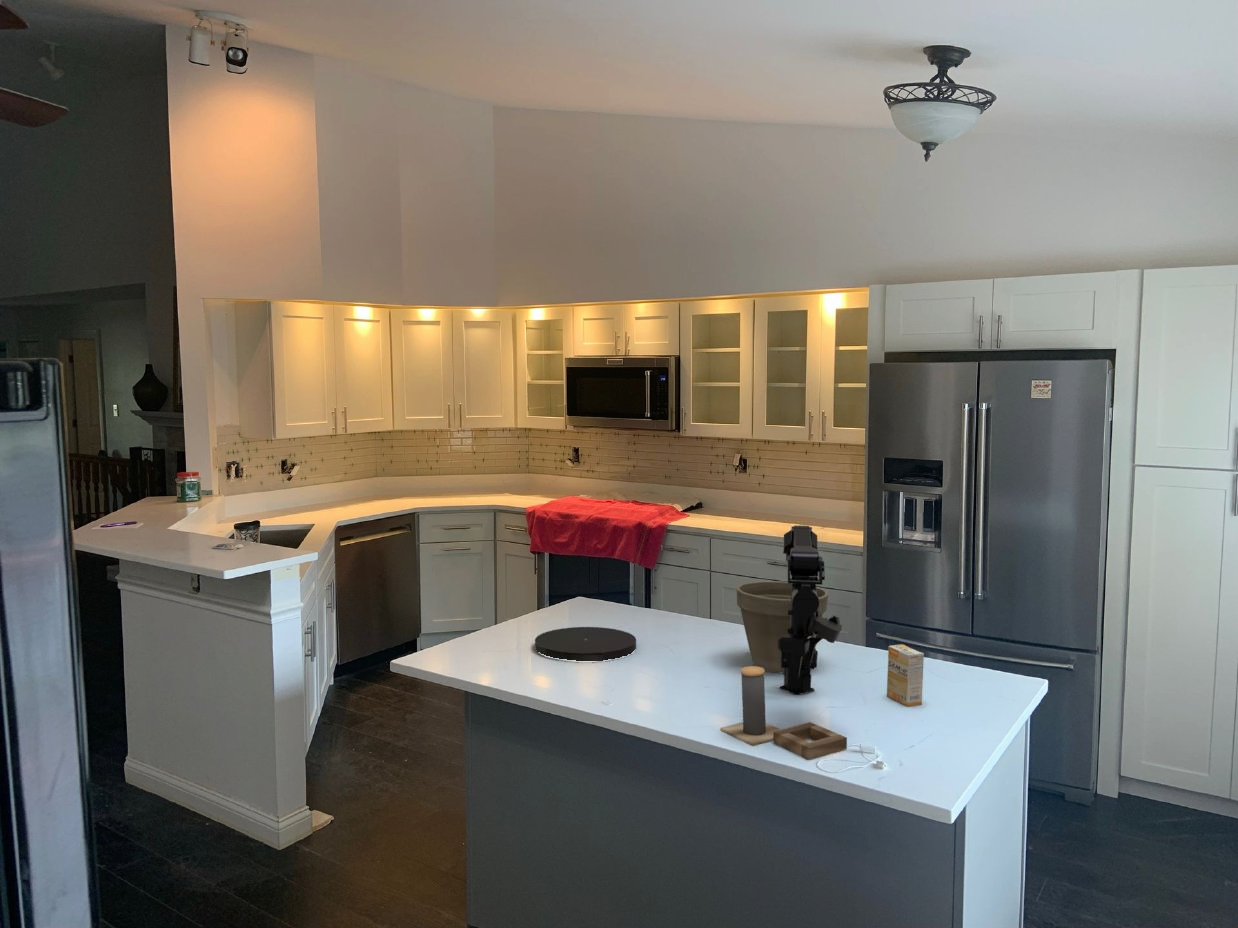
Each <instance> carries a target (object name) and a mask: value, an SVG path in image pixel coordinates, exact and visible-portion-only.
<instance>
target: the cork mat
mask: <svg viewBox="0 0 1238 928" xmlns="http://www.w3.org/2000/svg"><path fill="white" fill-rule="evenodd" d="M719 730H720V731H722V732H723V733H725V734H728V735H730V736H732V737H733V738H735V737H736V738H735V739H737V740H739V741H741V742H743V743H745V744H748V745H749V746H752V747H753V746H757V745H762V744H765V743H769V742H773V732H774V731H778V730H781V728H779V727H776V726H775V725H772V724H770V723H767V722H766V732H765V733H764V734H761V735H749V734H746V733H744V732H743V721H742V722H740V723H739V722H738V723H735V724H731V725H727V726H723V727H720V729H719Z"/></svg>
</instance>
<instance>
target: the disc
mask: <svg viewBox="0 0 1238 928" xmlns="http://www.w3.org/2000/svg"><path fill="white" fill-rule="evenodd" d="M534 643H535V645H534V648H536V650H537V651H538V652H540V653H541V654H544V655H546V656H550V657H553V658H559V659H567V660H576V661H603V660H608V659H615V658H620V657H622V656H627V655H628V654H631V653H632V652H633V651H634V650H635V649H636V650H637V639H636V637H635V635H634V634H631V632H627V631H624V630H620V629H615V628H610V627H609V628H608V627H601V626H600V627H599V626H598V627H596V626H577V627H576V626H575V627H565V628H564V627H563V628H558V629H557V628H556V629H552V630H549V631H545V632H542V633H541V634H539V635H537V636H536V637H535V638H534ZM536 650H535V651H536ZM636 650H635V651H636ZM631 655H632V654H631ZM627 657H628V656H627Z"/></svg>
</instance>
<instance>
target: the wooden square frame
mask: <svg viewBox="0 0 1238 928" xmlns="http://www.w3.org/2000/svg"><path fill="white" fill-rule="evenodd" d="M780 729H781V728H780ZM808 739H811V740H812V741H808ZM772 743H773V744H775V745H777V746H779V747H780V748H784V749H785V750H788V751H790V752H792V753H793V754H795V755H798V756H800V757H802V758H804V757H805V758H804V759H807V760H809V761H810V760H813V759H816V757H817V758H821V757H824V756H826V755H831V754H834V753H838V752H841V751H845V750H847V747H848V746H847V745H848V737H846V736H845V735H842V734H839V733H837V732H835V731H832V730H830V729H828V728H825V727H824V726H821V725H818V724H816V723H813V722H812V721H808V722H805V723H800V724H797V725H794V726H790V727H787V728H782V729H781V730H778V731H774V732H773V741H772Z"/></svg>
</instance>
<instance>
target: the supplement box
mask: <svg viewBox="0 0 1238 928" xmlns="http://www.w3.org/2000/svg"><path fill="white" fill-rule="evenodd" d="M924 661H925V654H924V652H921V651H919V650H916V649H914V648H912V647H909V646H907V645H905V644H894V645H889V646H888V653H887V678H886V680H887V681H886V682H887V684H886V697H888V698H890V699H892V700H894V701H896V702H897V703H898V702H899V703H900V704H902V705H904V706H905V707H914V706H920V705H922V704H923V687H924V686H923V685H924V684H923V681H924Z"/></svg>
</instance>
